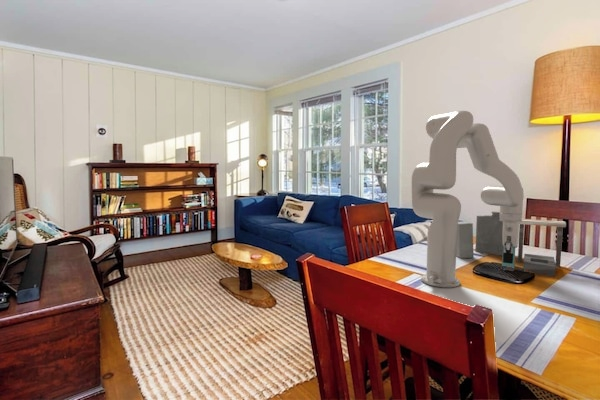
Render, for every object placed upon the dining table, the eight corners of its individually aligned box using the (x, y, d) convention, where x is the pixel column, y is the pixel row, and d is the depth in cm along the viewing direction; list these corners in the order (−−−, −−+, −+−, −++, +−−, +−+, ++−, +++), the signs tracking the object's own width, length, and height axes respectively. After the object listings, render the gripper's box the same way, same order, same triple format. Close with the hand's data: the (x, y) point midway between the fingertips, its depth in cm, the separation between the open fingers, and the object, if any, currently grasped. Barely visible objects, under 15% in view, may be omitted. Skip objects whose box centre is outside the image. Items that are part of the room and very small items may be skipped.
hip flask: (513, 254, 158) (516, 212, 156) (514, 256, 154) (516, 213, 152) (475, 250, 166) (477, 210, 164) (475, 252, 162) (476, 211, 160)
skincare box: (473, 258, 152) (475, 223, 150) (457, 258, 152) (459, 223, 150) (465, 253, 160) (466, 220, 159) (449, 253, 160) (451, 220, 159)
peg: (513, 271, 132) (515, 246, 131) (501, 270, 134) (502, 245, 133) (514, 269, 135) (515, 244, 134) (502, 267, 137) (503, 243, 136)
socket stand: (565, 278, 124) (568, 228, 122) (513, 271, 133) (516, 224, 131) (562, 266, 139) (564, 221, 137) (515, 260, 148) (518, 218, 146)
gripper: (521, 221, 123) (519, 266, 125) (522, 215, 138) (520, 256, 139) (497, 219, 128) (495, 263, 129) (501, 214, 142) (499, 254, 144)
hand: (508, 260), depth 134 cm, fingers open, 9 cm apart
